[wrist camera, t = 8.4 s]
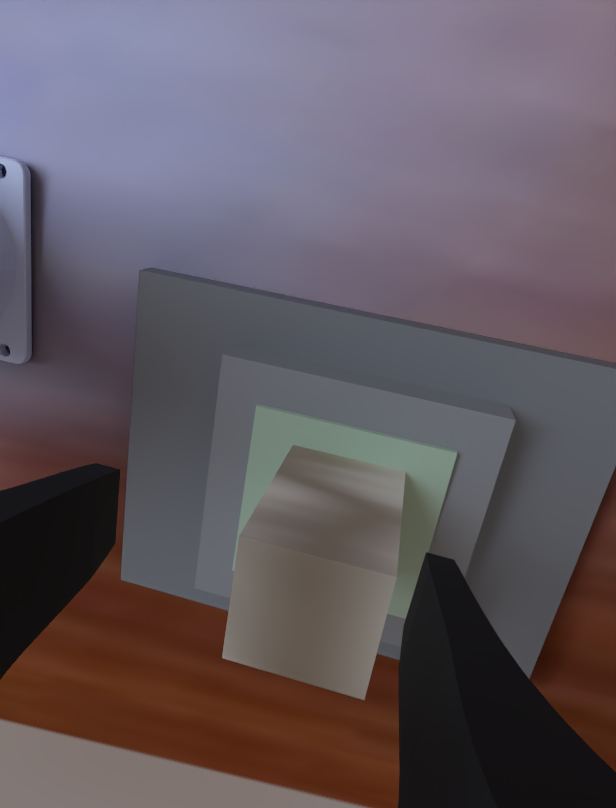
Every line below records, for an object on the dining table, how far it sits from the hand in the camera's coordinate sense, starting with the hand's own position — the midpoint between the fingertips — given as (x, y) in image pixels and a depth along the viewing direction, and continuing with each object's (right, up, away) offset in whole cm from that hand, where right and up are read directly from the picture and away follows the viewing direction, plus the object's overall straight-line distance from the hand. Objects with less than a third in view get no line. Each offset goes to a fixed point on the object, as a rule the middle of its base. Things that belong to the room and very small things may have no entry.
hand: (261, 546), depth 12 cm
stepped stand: (+3, 0, +10) cm, 10 cm away
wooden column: (+2, -1, +7) cm, 8 cm away
